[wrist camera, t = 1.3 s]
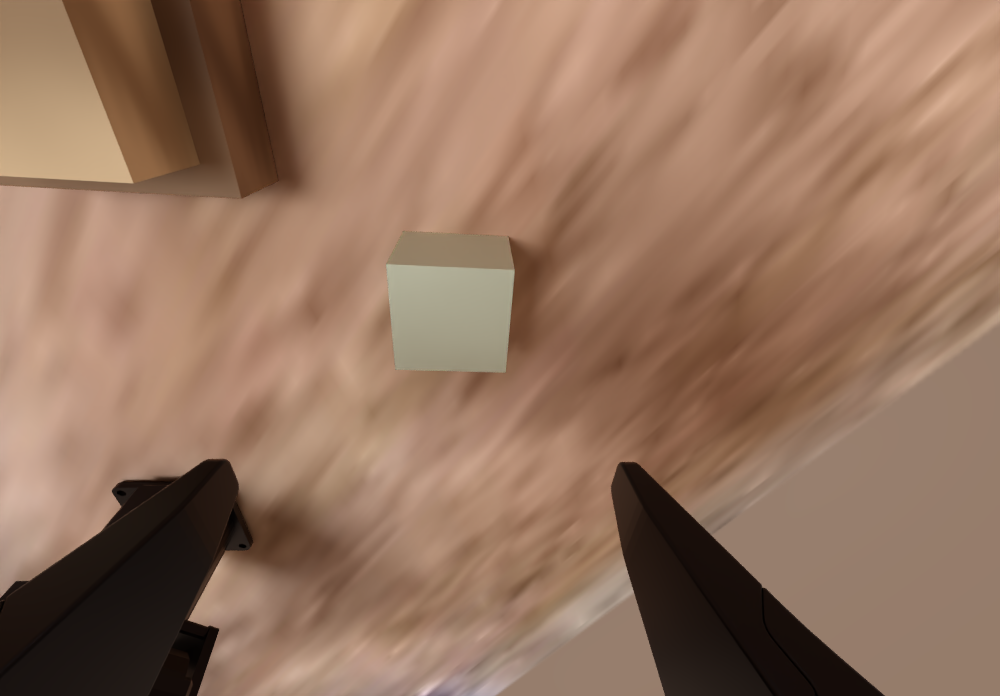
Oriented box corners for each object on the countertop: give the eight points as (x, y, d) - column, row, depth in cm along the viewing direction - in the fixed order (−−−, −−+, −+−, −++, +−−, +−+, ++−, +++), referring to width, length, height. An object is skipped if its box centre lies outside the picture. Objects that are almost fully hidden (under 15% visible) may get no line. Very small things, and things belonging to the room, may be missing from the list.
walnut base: (278, 180, 16) (241, 198, 14) (59, 168, 16) (-21, 184, 13) (216, -113, 12) (145, -165, 9) (-90, -147, 11) (-253, -213, 9)
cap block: (501, 325, 20) (505, 372, 17) (409, 321, 20) (395, 369, 17) (507, 235, 18) (514, 270, 15) (403, 230, 18) (385, 263, 14)
